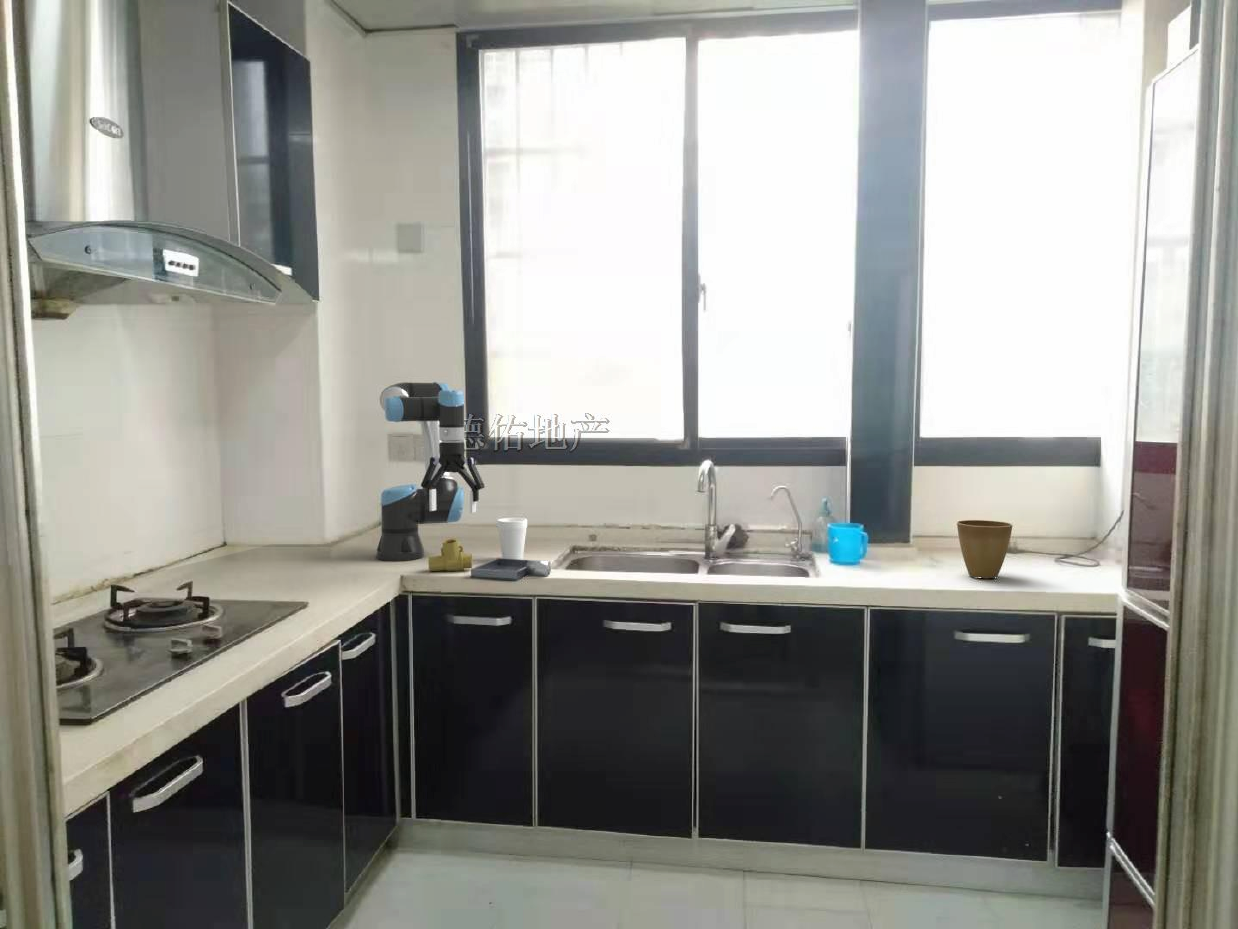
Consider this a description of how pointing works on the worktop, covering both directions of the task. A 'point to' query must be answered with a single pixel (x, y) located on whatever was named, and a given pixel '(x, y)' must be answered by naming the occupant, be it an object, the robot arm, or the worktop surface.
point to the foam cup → (512, 537)
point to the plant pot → (984, 546)
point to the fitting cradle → (511, 569)
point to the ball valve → (450, 558)
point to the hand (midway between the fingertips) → (452, 511)
